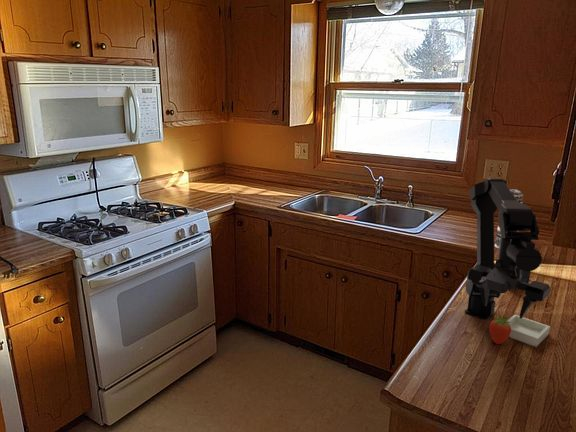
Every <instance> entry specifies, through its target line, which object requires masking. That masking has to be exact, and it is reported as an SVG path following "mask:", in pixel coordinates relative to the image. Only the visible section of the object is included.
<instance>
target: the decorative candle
mask: <svg viewBox="0 0 576 432" xmlns="http://www.w3.org/2000/svg"><path fill="white" fill-rule="evenodd" d="M509 190H510V191H511V192H512V194H513V195H514V197H515V198H516V200H517V201H518V202H520V203H523V198H524V194H523V193H522V192H521V190H519V189H513V188H509ZM498 215H499V213H498ZM498 215H497V216H498ZM500 241H501V233H500V227H499V225H498V226H497V230H496V233H495V237H494V248H497V249H498V250H499V248H500Z"/></svg>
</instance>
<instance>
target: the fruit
mask: <svg viewBox="0 0 576 432" xmlns="http://www.w3.org/2000/svg"><path fill="white" fill-rule="evenodd" d="M492 318H493V319H492V320H491V321H490V323H489V326H488V330H489V333H490V336H491V339H492V341H493V342H494V343H495V344H496V345H502V344H503V343H504V342H506V341H507V339H508V338H510V337H509V335H510V333H511V327H510V325H509V324H508V323H510V322H506V321H507V320H508V319H509V318H508V317H506V316H505V317H502V316H501V314H499V315H498V318H496V317H495V316H493V317H492Z"/></svg>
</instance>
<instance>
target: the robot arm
mask: <svg viewBox="0 0 576 432" xmlns="http://www.w3.org/2000/svg"><path fill="white" fill-rule="evenodd" d="M509 189H510V188H509V186H508V185H507V181H506V179H504V178H497V177H494V178H493V177H491V178H490V177H489V178H486V179H485V180H484V181H481V182H477V183H475V184H473V186H471V187H470V188H469V194H468V196H469V200H470V205H471V208H472V209H473V211H474V212H475V214H476V264H475V265H474V266H473V267H471V268H470V269H468V271H467V276H466V278H467V281H466V282H465V292H466V293H467V295H468V301H467V302H468V303H467V308H466V309H465V310H464V313H466V314H469V315H472V316H474V317H477V318H479V319H481V320H482V319H483V320H487V319H488V318H489V317H491V316H492V315H494V314H495V309H496V301H495V298H496V299H499V298H500V296H501V294H505V293H507V291H510V290H511V291H516V290H522V291H524V296H523V297H522V305H521V309H520V312H519V316H520V319H522V318H523V317H524V316H525V314H526V313H527V312H528V310H529V308H530V307H531V305H532V304H533V303H537V302H543V301H544V300H545V299H547V298H548V297H549V296H550V293H551V286H550V285H549V284H548V283H545V282H541V281H538V280H534V279H533V280H532V281H530V282H529V284H528V283H525V282H521V281H520V279H521V278H522V274H521V272H522V271H527V272H528V271H530V272H533V271H535V270H537V269H538V268H539V267H541V266H540V265H541V264H542V262H543V257H542V254H541V252H540V251H539V250H538V249H536V243H535V242H534V241H539V234H540V229H539V226H538V224H539V223H538V222H537V221H538V220H537V217H536V213H534V211H533V209H532V208H531V207H530V206H529V205H527V204H525V203H523V202H522V203H520V202H518V201H517V200H516V198H515V197H514V195H513V194H512V192H511V191H510V190H509ZM497 210H498V214H499V215H497V223H498V226H499V227H500V233H501V241H500V248H499V249H498V257H497V259H495V212H496V211H497ZM516 288H518V289H516Z"/></svg>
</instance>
